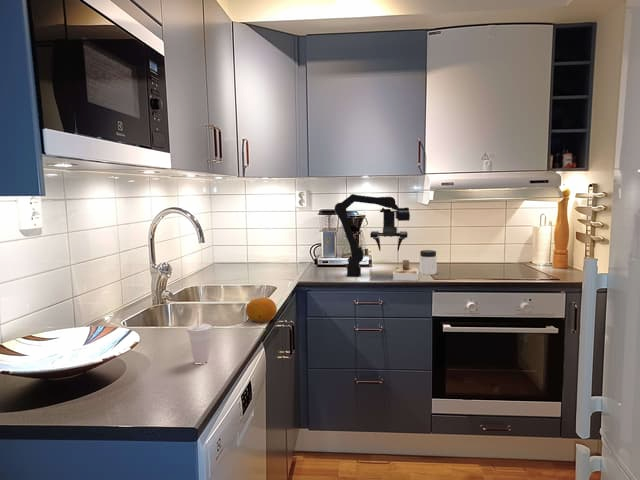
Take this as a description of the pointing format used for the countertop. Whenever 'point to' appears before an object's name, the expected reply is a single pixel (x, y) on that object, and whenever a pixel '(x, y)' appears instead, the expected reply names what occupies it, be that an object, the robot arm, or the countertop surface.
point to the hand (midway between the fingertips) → (388, 251)
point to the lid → (405, 268)
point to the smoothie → (200, 341)
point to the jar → (428, 262)
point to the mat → (382, 278)
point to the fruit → (261, 309)
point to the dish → (405, 276)
